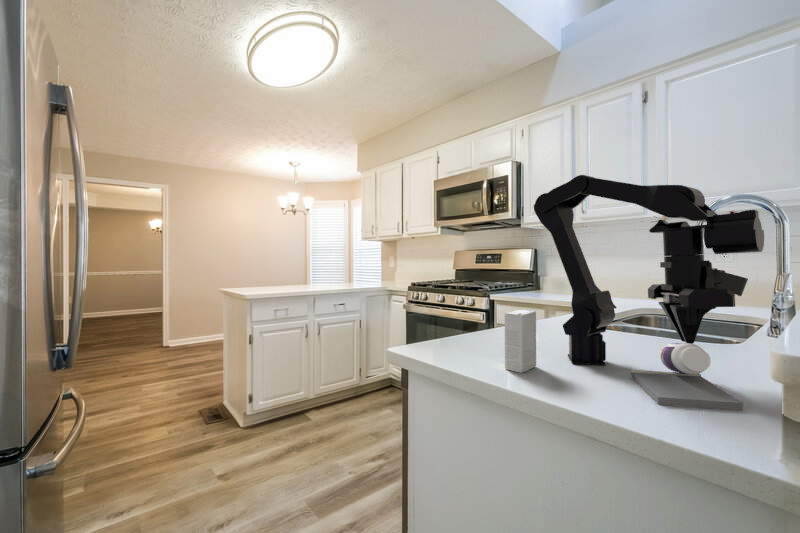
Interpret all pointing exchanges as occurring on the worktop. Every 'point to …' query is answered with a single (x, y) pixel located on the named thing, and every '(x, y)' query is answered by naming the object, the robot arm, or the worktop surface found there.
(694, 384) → the mat
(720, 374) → the worktop surface
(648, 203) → the robot arm
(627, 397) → the worktop surface
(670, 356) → the pill bottle
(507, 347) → the skincare box
